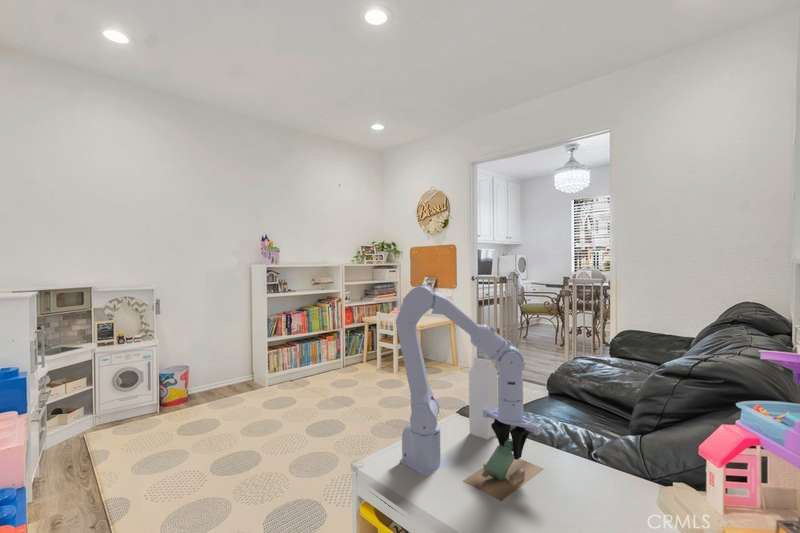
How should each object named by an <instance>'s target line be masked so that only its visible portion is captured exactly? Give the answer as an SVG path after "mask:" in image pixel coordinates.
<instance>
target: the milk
mask: <svg viewBox="0 0 800 533" xmlns="http://www.w3.org/2000/svg"><path fill="white" fill-rule="evenodd" d="M468 399H469V400H468V404H469V405H468V406H469V412H468V414H469V417H468V418H469V419H468V420H469V424H468V425H469V434H470V435H473V436H475V437H477V438H481V439H484V440H487V441H488V440H490V439H491V438H495V437H497V436H496V434H495V432H494V430H493V429H492V427H491V424H492V423H494V419H492V418H489V417H487V418H485V417H483V409H484V408H487V407H489V408H493V409H498V369H497V368H496V367H494V366H493V360H491V359H485V358H479V357H474V358H473V363H472V365H471V366H470V368H469V369H468Z"/></svg>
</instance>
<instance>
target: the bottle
mask: <svg viewBox="0 0 800 533" xmlns="http://www.w3.org/2000/svg"><path fill="white" fill-rule="evenodd" d="M514 459H515V457H514V455H513V441H512V438H509V439H507V440H506V441H505V442H504V446H501V445H499V444H498V445H497V446H496V448H495V450H494V451H493V453H492V454H491V456H490V458H489V459H488V462H487V461H486V462H487V464H486V465H485V470H486V472H487V473H488V474H489V475H490V476H491V477H492V478H494V479H495V480H497V481H502V480H503V478H504V476H505V474H506V473H507V471H508V469H509V468H510V466H511V464H512V462H513V461H514Z"/></svg>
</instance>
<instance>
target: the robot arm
mask: <svg viewBox="0 0 800 533" xmlns="http://www.w3.org/2000/svg"><path fill="white" fill-rule="evenodd" d="M431 309H432V311H431V314H433V315H440V316H441V315H442V316H444V317H446V318H447V319H449V320H450V321H451V322H452V323H453V324H455V325H456V326H458V327H459V328H460V329H462V330H463V331H464V332H465V333H466V334H468V335H469V337H470V343H471V344H472V345H473V346H475V348H477V349H478V350H479V351H481V352H482V353H483V354H484V355H485V356H487V357H488V358H489V360H491V361H495V362H497V365H498V375H497V387H498V409H493V408H489V407H487V408H484V409H483V417H485V418H487V417H489V418H492V419H494V423H492V424H491V427H492V429H493V430H494V432H495V434H496V436H495V437H496V439H497V441H498V446H499V445H501V446H504V442H505V441H506V440H507V439H510V436H511V439H512V441H513V452H512V453H513V455H514V457H515V459H516V460H517V459H521V458H522V455H523V449H524V447H525V443H526V442H527V438H528V437H529V435H530V434H531V433H532V434H533V435H535V436H539V435H541V434H542V433H543V427H542V426H543V425H542V423H539V422H536V421H534V420H533V419H530V418H528V417H527V416H525V415H524V379H523V371H524V368H525V366H526V362H525V360H524V357H523V355H522V354H521V352H520V350H518V349H519V348H517V347H516V345H515V344H513V343H512V341H510V340H509V339H507V340H506V339H505V338H504V337H502V336H501V335H500V334H499V333H497V332H496V328H495V327H494V326H493V325H490V326H489V325H487V324H478V323H477V322H475V321H474V320H473V319H472V318H471V317H470V316H469V315H467V314H466V313H465V312H464V311H463V310H462V309H461V308H459V307H458V306H457V305H456V304H455V303H454V302H452V301H451V300H450V299H449V298H448V297H446V296H445V295H443V294H442V293H441V292H439V291H438V290H437V291H435V289H434V288H432V287H431V286H429V285H428V284H427V285H426V284H421V285H418V286H417V287H413V288H412V289H411V290H410V291H409V292H408V293H407V294H406V295H405V297H404V298H403V300H402V303H401V307H400V309H399V312H398V314H397V317H396V319H395V327H396V332H397V336H398V339H399V340H398V341H399V344H400V345H399V346H400V350H401V355H402V359H403V364H404V368H405V372H406V377H407V378H406V379H407V383H408V386H409V390H410V410H411V414H410V418H409V423H408V424H407V425H406V426H405V427H404V429H403V430H402V434H401V457H402V458H401V459H399V463H400V464H404V465H406V466H407V467H410V468H412V469H413V470H414V471H417V472H419V473H421V474H422V475H424V476H429V475H431V474H433V473H434V472H436V471H437V470H440V469H441V468H442V469H443V467H446V466H447V465H449V462H447V461H445V460H443V459H442V458H441V456H442V455H441V426H440V424H439V423H438V417H439V413H440V405H439V402H438V401H437V399H436V398H435V397H434V394H433V390H432V389H431V387H430V383H429V378H428V373H427V369H426V364H425V359H424V355H423V351H422V346H421V340H420V337H419V332H418V328H417V325H418V323H419V321H420V319H422V318H423V315H425V314H427V313H428V311H430V310H431ZM511 426H512V427H515V428H513V429H511Z"/></svg>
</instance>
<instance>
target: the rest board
mask: <svg viewBox="0 0 800 533" xmlns="http://www.w3.org/2000/svg"><path fill="white" fill-rule="evenodd" d="M488 461H489V460H488ZM488 461H486V462H484V463H483V468H481V469H479V470H477V471H476V472H474V473H473V474H471V475H469V476H468V477H466V478H465V479H463V480H462V481H463V482H464V483H466V484H468V485H470V486H472V487H473V488H476V489H477V490H479V491H481V492H483V493H485V494H487V495H489V496H490V497H492V498H494V499H497V500H499V501H500V502H502V501H504V500H505V499H506V498H508V497H509V496H511V494H513V493H514V492H515V491H517V490H518V489H519V488H520V487H522V486H523V485H525V484H526V483H527V482H528V481H530V480H531V479H532V478H534V477H536V476H537V475H538V474H539V473H540V472H542V471H543V470H544V469H545V468H543V467H541V466H538V465H536V464H534V463H531V462H529V461H527V460H524V459H521V458H519V459H517V460H516V459H514V461H513V462H512V464H511V466H510V468H509V469H508V471H507V473H506V474H505V476H504V478H503V480H502V481H497V480H495V479H494V478H492V477H491V476H490V475H489V474H488V473H487V472H486V470H485V465H486V464H487V462H488Z"/></svg>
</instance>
